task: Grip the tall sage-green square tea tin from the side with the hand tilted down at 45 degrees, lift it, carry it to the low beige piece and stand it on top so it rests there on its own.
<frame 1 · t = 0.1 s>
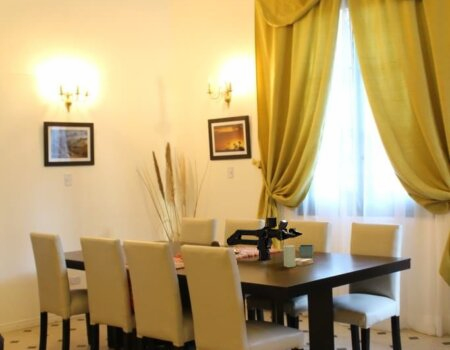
hand: (298, 234, 383), 17 cm above the table, tool horizontal, fingers open, 9 cm apart
beige piece: (300, 264, 375), on the table
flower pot: (306, 260, 389), on the table
tea tin: (289, 266, 367), on the table
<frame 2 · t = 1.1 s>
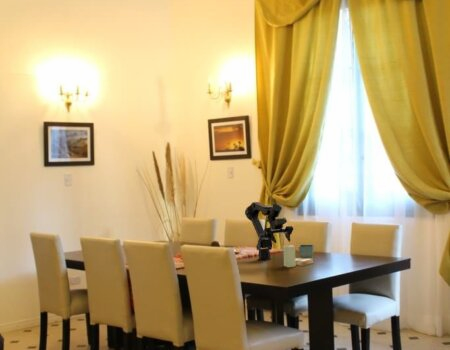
hand: (282, 242, 374), 13 cm above the table, tool tilted 45°, fingers open, 9 cm apart
nothing on the table moved.
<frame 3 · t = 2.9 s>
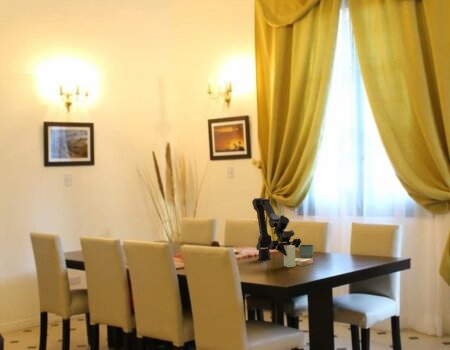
hand: (290, 255, 365), 7 cm above the table, tool tilted 45°, fingers closed on tea tin, 5 cm apart
tea tin: (289, 266, 367), on the table, touching gripper
everything else where it was.
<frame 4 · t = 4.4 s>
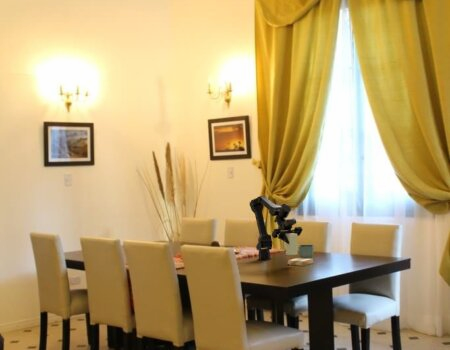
hand: (292, 243, 367), 13 cm above the table, tool tilted 45°, fingers closed on tea tin, 5 cm apart
tea tin: (291, 254, 368), point 7 cm above the table, touching gripper
everything else where it was.
when the fingers open (10 cm above the table, at t = 6.2 s): tea tin stays where it is, point 3 cm above the table.
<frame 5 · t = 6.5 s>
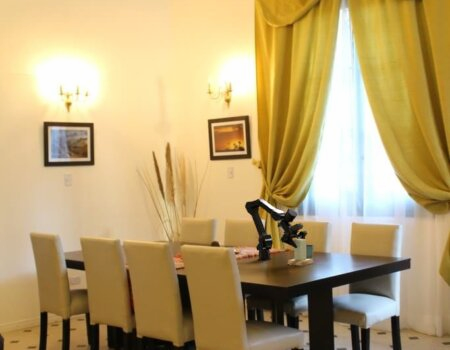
hand: (301, 247, 374), 10 cm above the table, tool tilted 45°, fingers open, 8 cm apart
tea tin: (300, 259, 375), point 3 cm above the table
everything else where it was.
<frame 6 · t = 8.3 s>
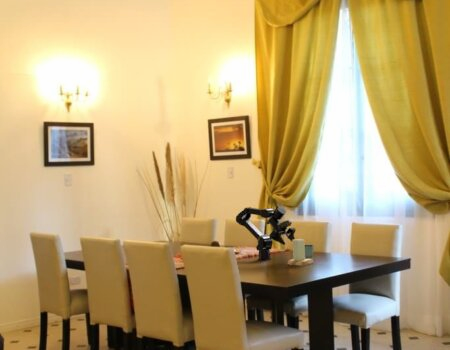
hand: (290, 243, 381), 11 cm above the table, tool tilted 45°, fingers open, 9 cm apart
beige piece: (300, 264, 375), on the table, touching tea tin
tea tin: (299, 259, 375), point 3 cm above the table, touching beige piece
everything else where it was.
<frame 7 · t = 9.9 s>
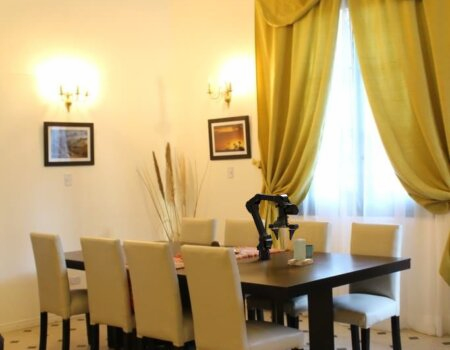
hand: (283, 240, 387), 13 cm above the table, tool pointing down, fingers open, 9 cm apart
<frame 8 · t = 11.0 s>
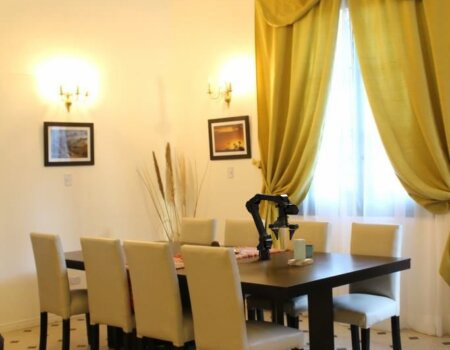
hand: (283, 240, 387), 13 cm above the table, tool pointing down, fingers open, 9 cm apart
nothing on the table moved.
at the end: tea tin inside the target area on the beige piece (0.4 cm from its centre), point 3.1 cm above the beige piece's base; tea tin tilted 2°; the gripper is holding nothing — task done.
